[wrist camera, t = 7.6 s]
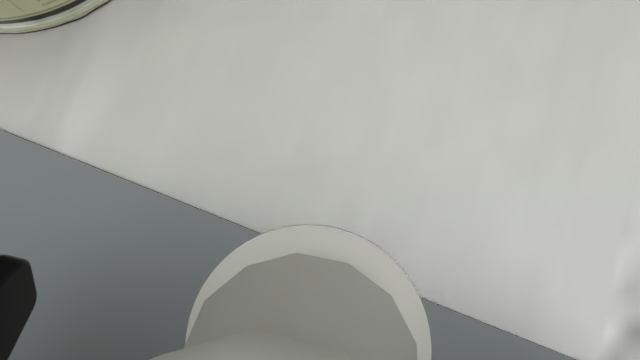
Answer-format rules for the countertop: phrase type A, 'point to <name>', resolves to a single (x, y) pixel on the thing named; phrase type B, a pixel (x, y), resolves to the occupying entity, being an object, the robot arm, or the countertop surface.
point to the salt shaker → (298, 316)
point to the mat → (173, 266)
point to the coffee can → (41, 13)
